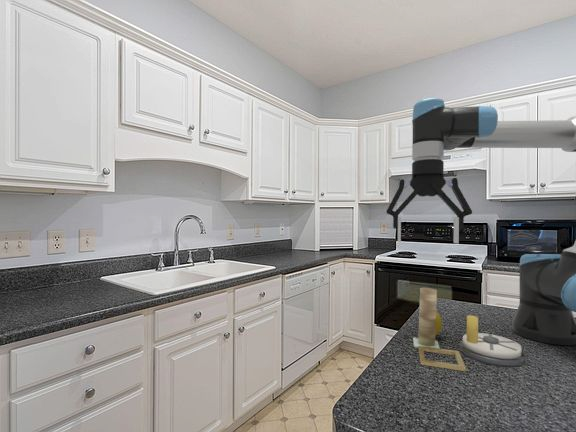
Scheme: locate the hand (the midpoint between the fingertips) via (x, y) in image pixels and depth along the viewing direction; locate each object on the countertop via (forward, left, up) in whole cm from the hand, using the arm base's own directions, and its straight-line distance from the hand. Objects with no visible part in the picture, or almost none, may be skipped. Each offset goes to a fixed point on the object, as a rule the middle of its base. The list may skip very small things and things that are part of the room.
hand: (426, 242), depth 82 cm
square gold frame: (-3, +8, -27) cm, 28 cm away
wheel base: (-15, 0, -27) cm, 30 cm away
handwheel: (-14, 0, -25) cm, 29 cm away
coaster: (0, 0, -27) cm, 27 cm away
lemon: (-2, -6, -27) cm, 28 cm away
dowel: (0, 0, -26) cm, 26 cm away
